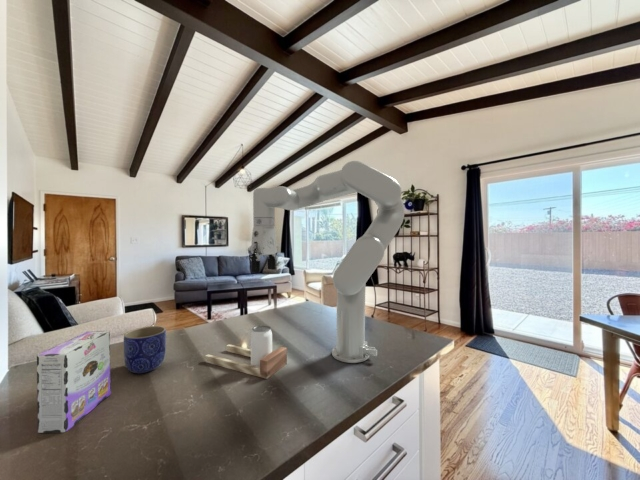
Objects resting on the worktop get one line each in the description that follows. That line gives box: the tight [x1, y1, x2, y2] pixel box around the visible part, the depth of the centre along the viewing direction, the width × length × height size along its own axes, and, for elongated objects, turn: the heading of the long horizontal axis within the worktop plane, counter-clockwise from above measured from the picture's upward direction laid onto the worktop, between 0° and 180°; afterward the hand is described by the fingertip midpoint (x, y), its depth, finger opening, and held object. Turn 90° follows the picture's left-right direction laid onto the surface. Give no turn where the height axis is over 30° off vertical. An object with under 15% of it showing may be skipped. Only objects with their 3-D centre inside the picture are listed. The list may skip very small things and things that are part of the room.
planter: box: [123, 325, 167, 374], centre depth 85 cm, size 11×11×11 cm
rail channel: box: [204, 343, 288, 380], centre depth 88 cm, size 24×10×5 cm, turn 64°
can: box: [250, 325, 273, 368], centre depth 85 cm, size 6×6×12 cm
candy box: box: [36, 330, 112, 434], centre depth 64 cm, size 14×6×16 cm, turn 4°
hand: (264, 270), depth 100 cm, fingers open, 9 cm apart
